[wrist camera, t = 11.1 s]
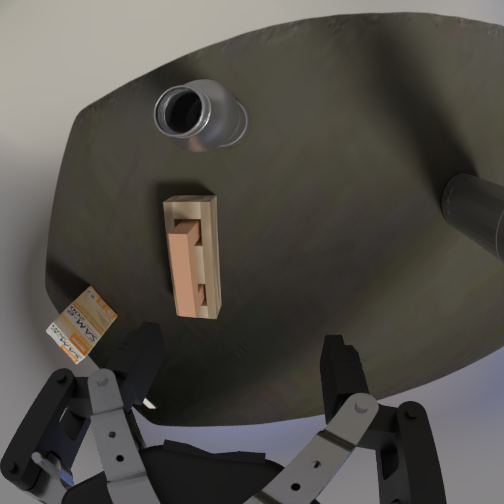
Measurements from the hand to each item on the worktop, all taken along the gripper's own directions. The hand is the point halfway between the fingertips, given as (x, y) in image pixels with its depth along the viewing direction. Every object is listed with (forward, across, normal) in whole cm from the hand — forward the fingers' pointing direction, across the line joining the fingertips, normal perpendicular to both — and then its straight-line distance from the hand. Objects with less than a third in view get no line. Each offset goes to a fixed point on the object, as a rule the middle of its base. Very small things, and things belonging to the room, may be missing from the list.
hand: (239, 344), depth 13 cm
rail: (+28, +10, +8) cm, 31 cm away
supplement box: (+28, +32, +20) cm, 47 cm away
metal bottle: (+28, +5, -11) cm, 31 cm away
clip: (+27, +10, +8) cm, 30 cm away
